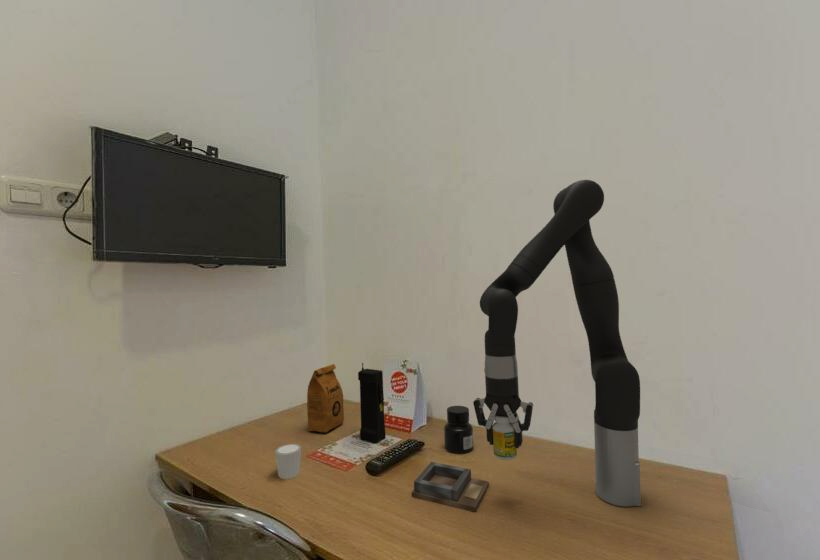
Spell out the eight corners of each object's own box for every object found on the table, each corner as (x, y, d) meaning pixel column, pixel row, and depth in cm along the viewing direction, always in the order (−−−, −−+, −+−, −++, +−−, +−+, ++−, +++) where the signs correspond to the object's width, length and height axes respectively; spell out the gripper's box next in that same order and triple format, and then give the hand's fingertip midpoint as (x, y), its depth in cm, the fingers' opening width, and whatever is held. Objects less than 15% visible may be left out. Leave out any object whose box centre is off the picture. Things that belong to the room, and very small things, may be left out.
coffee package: (348, 424, 144) (346, 364, 144) (325, 436, 133) (323, 371, 133) (328, 419, 149) (326, 361, 149) (303, 431, 138) (302, 369, 138)
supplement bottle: (504, 448, 96) (502, 409, 96) (521, 456, 92) (520, 415, 92) (488, 454, 93) (486, 414, 93) (505, 463, 89) (504, 420, 89)
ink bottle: (473, 455, 116) (472, 415, 116) (443, 454, 118) (442, 414, 118) (473, 441, 126) (472, 404, 126) (445, 440, 127) (444, 403, 127)
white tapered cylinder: (307, 470, 110) (306, 445, 110) (290, 482, 104) (289, 456, 104) (288, 466, 113) (287, 441, 113) (270, 477, 107) (269, 451, 107)
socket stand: (489, 485, 99) (488, 471, 99) (475, 511, 89) (475, 496, 89) (430, 473, 106) (430, 460, 106) (411, 496, 96) (411, 482, 95)
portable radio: (389, 437, 131) (387, 362, 130) (378, 444, 126) (376, 366, 125) (370, 433, 135) (368, 360, 135) (359, 439, 130) (357, 364, 130)
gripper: (535, 371, 93) (538, 443, 93) (475, 368, 99) (478, 435, 99) (530, 379, 86) (534, 456, 86) (467, 375, 92) (470, 447, 92)
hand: (504, 444), depth 92 cm, fingers closed on supplement bottle, 5 cm apart
